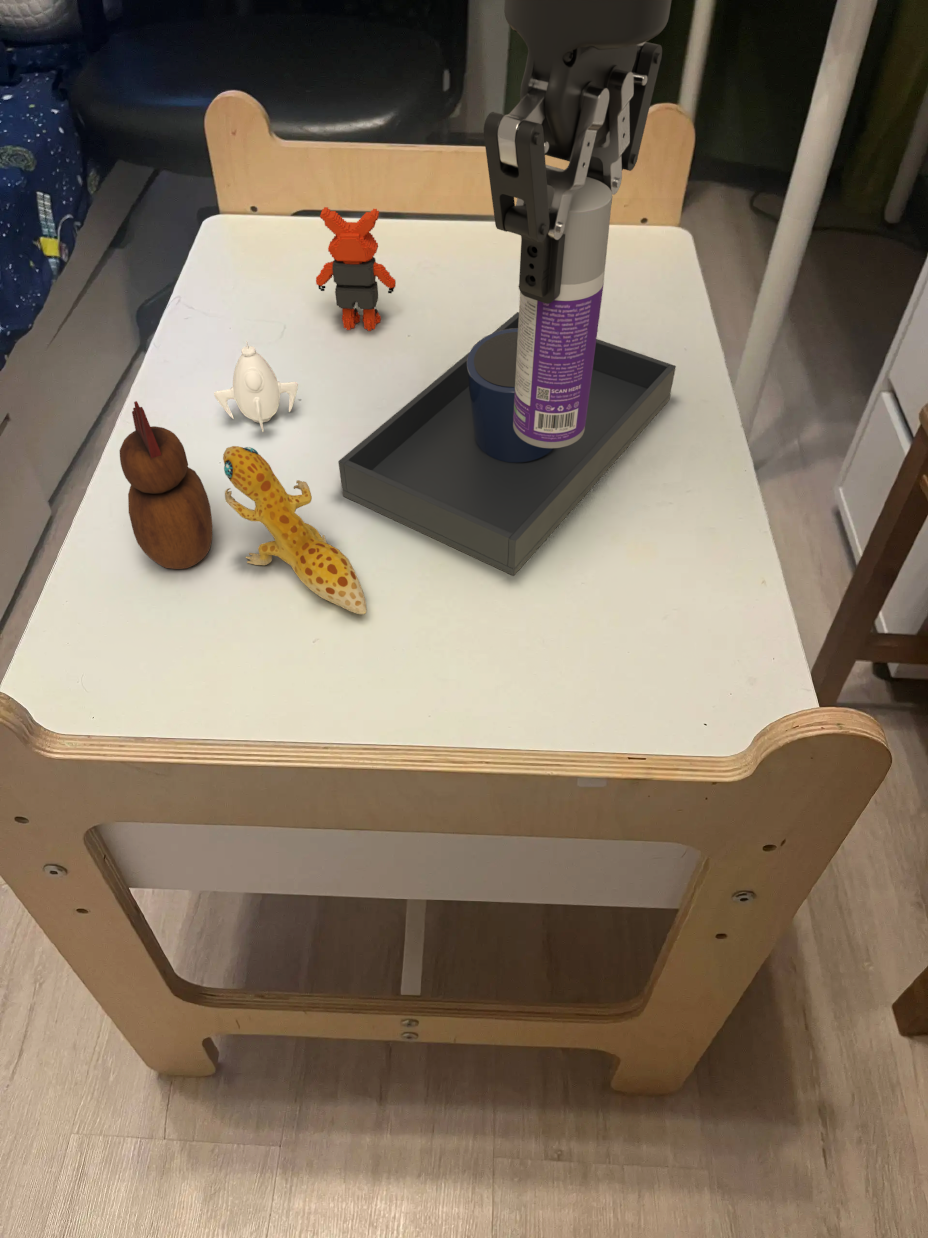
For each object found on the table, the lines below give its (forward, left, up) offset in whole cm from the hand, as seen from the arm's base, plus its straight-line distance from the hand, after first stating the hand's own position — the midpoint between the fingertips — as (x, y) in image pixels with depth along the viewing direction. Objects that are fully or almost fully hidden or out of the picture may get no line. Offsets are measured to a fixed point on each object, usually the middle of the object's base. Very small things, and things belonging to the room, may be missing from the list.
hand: (562, 275), depth 51 cm
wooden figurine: (+26, +12, -26) cm, 39 cm away
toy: (+15, +8, -26) cm, 31 cm away
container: (0, 0, -11) cm, 11 cm away
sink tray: (+11, -14, -26) cm, 31 cm away
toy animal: (+36, -24, -26) cm, 50 cm away
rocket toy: (+33, -5, -26) cm, 42 cm away
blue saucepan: (+11, -18, -24) cm, 32 cm away
